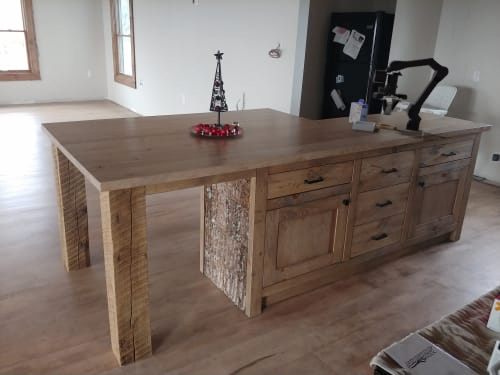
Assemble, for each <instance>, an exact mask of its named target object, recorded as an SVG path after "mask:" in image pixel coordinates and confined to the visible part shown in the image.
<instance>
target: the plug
mask: <svg viewBox="0 0 500 375" xmlns="http://www.w3.org/2000/svg"><path fill="white" fill-rule="evenodd" d="M393 104H394V103H393V102H392V101H387V103H386V108H385V111H383V113H382V115H384V116H392V114H393V113H392V112H393V111H392V106H393Z"/></svg>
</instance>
